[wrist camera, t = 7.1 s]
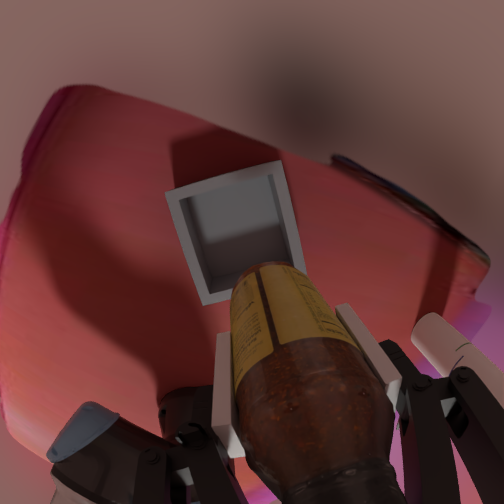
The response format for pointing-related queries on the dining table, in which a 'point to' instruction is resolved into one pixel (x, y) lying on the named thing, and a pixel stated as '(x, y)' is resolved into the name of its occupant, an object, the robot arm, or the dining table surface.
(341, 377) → the sauce bottle
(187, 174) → the dining table surface
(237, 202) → the grey open box
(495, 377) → the cylindrical container
